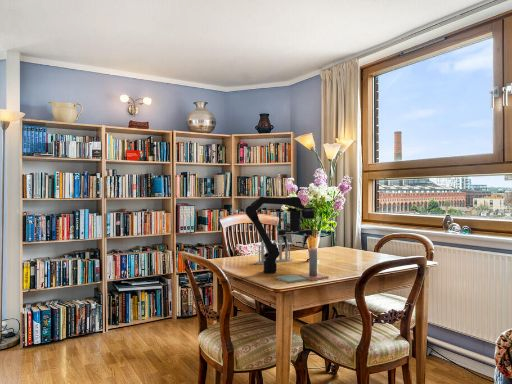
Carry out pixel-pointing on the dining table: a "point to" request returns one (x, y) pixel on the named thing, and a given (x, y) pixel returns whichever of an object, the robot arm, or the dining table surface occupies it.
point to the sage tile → (291, 278)
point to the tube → (312, 262)
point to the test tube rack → (279, 252)
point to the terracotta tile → (312, 278)
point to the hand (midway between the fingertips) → (294, 247)
